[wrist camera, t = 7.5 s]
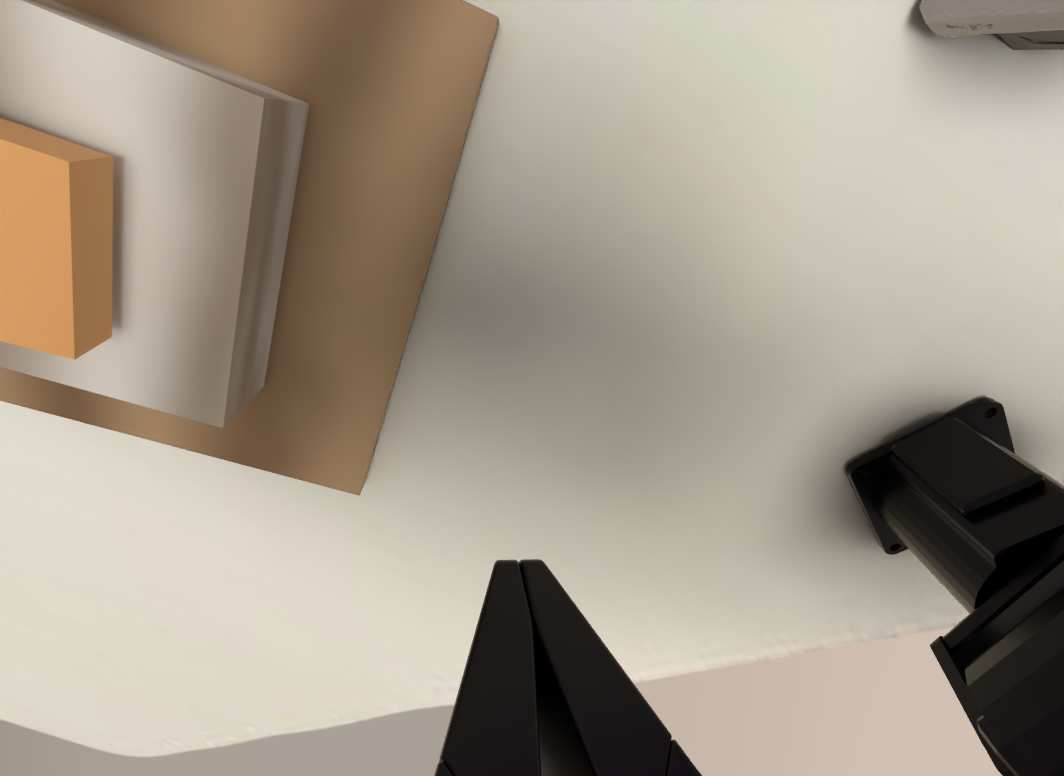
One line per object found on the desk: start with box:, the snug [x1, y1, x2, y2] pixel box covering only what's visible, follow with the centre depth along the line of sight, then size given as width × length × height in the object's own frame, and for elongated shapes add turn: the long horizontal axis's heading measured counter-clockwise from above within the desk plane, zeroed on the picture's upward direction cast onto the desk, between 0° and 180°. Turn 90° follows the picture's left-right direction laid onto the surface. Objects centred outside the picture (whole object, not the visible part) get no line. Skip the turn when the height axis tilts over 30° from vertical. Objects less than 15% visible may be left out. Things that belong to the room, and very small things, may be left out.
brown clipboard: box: [0, 0, 499, 495], centre depth 14 cm, size 22×18×6 cm
